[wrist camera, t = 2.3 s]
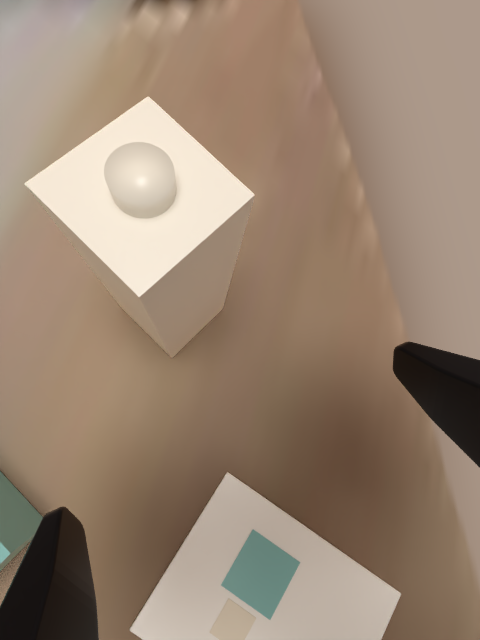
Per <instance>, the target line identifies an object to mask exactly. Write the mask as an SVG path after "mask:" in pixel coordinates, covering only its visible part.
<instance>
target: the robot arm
mask: <svg viewBox="0 0 480 640" xmlns="http://www.w3.org/2000/svg"><path fill="white" fill-rule="evenodd" d="M393 371H394V374H395V375H396V377H397V378H398V379H399V381H400V382H401V383H402V384H403V386H404V387H405V388H406V389H407V390H408V392H409V393H410V394H411V395H412V396H413V398H414V399H415V400H416V401H417V403H418V404H419V405H420V406H421V407H422V409H423V410H424V411H425V412H426V413H427V415H428V416H429V417H430V418H431V419H432V420H433V421H434V422H435V423H436V424H437V425H438V426H439V427H440V428H441V429H442V430H443V431H444V432H445V433H446V434H447V435H448V436H449V437H450V438H451V439H452V440H453V441H454V442H455V443H456V444H457V445H458V446H459V447H460V448H461V449H462V450H463V451H464V452H465V453H466V454H467V455H468V456H469V457H470V458H471V459H472V460H473V461H474V462H475V463H476V464H477V465H478V466H479V467H480V360H477V359H473V358H469V357H466V356H462V355H458V354H454V353H451V352H447V351H443V350H439V349H436V348H432V347H428V346H424V345H421V344H417V343H413V342H405V343H403V344H401V345H399V346H397V347H395V349H394V356H393ZM0 640H99V638H98V620H97V606H96V597H95V590H94V584H93V578H92V572H91V567H90V561H89V555H88V549H87V543H86V537H85V531H84V528H83V525H82V524H81V522H80V521H79V520H78V519H77V518H76V517H75V516H74V515H73V514H72V513H71V512H70V511H69V510H68V509H67V508H66V507H59V508H57V509H55V510H53V511H51V512H49V513H47V514H46V515H45V516H44V517H43V518H42V520H41V522H40V524H39V526H38V529H37V531H36V533H35V535H34V537H33V539H32V541H31V543H30V545H29V547H28V549H27V552H26V554H25V556H24V558H23V560H22V562H21V564H20V566H19V568H18V570H17V572H16V575H15V577H14V579H13V581H12V583H11V585H10V587H9V589H8V591H7V593H6V595H5V598H4V600H3V602H2V604H1V606H0Z"/></svg>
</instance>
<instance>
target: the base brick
mask: <svg viewBox="0 0 480 640" xmlns="http://www.w3.org/2000/svg"><path fill="white" fill-rule="evenodd" d="M42 518H43V517H42V516H41V515H40V514H39V513H38V512H37V510H36V509H35V508H34V507H33V506H32V505H31V504H30V503H29V502H28V501H27V500H26V498H25V497H24V496H23V495H22V494H21V493H20V492H19V491H18V490H17V489H16V488H15V487H14V485H13V484H12V483H11V482H10V481H9V480H8V479H7V478H6V477H5V476H4V475H3V473H2V472H1V471H0V571H1V570H2V569H3V568H4V567H5V566H6V565H7V564H8V563H9V562H10V561H11V560H12V559H13V558H14V557H15V556H16V555H17V554H18V553H19V552H20V551H21V550H22V549H23V548H24V547H25V546H26V545H27V544H28V543H29V542H30V541H31V540H32V539H33V537H34V535H35V533H36V531H37V529H38V526H39V524H40V522H41V520H42Z"/></svg>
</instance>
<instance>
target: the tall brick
mask: <svg viewBox="0 0 480 640" xmlns="http://www.w3.org/2000/svg"><path fill="white" fill-rule="evenodd" d="M24 184H25V185H26V187H27V188H28V189H29V190H30V192H31V193H32V194H33V195H34V197H35V198H36V199H37V201H38V202H39V203H40V204H41V206H42V207H43V208H44V210H45V211H46V212H47V213H48V215H49V216H50V217H51V219H52V220H53V221H54V222H55V224H56V225H57V226H58V227H59V229H60V230H61V231H62V233H63V234H64V235H65V236H66V238H67V239H68V240H69V242H70V243H71V244H72V245H73V247H74V248H75V249H76V251H77V252H78V253H79V254H80V256H81V257H82V258H83V259H84V261H85V262H86V263H87V265H88V266H89V267H90V268H91V270H92V271H93V272H94V274H95V275H96V276H97V277H98V279H99V280H100V281H101V283H102V284H103V285H104V286H105V288H106V289H107V290H108V291H109V293H110V294H111V295H112V297H113V298H114V299H115V300H116V302H117V303H118V304H119V306H120V307H121V308H122V309H123V310H124V311H125V312H126V313H127V314H128V315H129V316H130V317H131V318H132V319H133V320H134V321H135V322H136V323H137V324H138V325H139V326H140V327H141V328H142V329H143V330H144V331H145V332H146V333H147V334H148V335H149V336H150V337H151V338H152V339H153V340H154V341H155V342H156V343H157V344H158V345H159V346H160V347H161V348H162V349H163V350H164V351H165V352H166V353H167V354H168V355H169V356H170V357H171V358H173V357H174V356H175V355H176V354H177V353H178V352H179V351H180V350H181V349H182V348H183V347H184V346H185V345H186V344H187V343H188V342H189V341H190V340H191V339H192V338H193V337H194V336H196V335H197V334H198V333H199V332H200V331H201V330H202V329H203V328H204V327H205V326H206V325H207V324H208V323H209V322H210V321H211V320H212V319H213V318H214V317H215V316H216V315H217V314H218V313H219V312H220V311H221V310H222V309H223V307H224V303H225V300H226V296H227V293H228V289H229V285H230V282H231V278H232V275H233V271H234V268H235V264H236V261H237V257H238V253H239V250H240V246H241V243H242V239H243V236H244V232H245V229H246V225H247V222H248V218H249V214H250V211H251V207H252V204H253V200H254V197H255V195H254V194H253V193H252V192H251V191H250V190H249V189H248V188H247V187H246V186H245V185H244V184H243V183H241V182H240V181H239V180H238V179H237V178H236V177H235V176H234V175H233V174H232V173H231V172H230V171H229V170H227V169H226V168H225V167H224V166H223V165H222V164H221V163H220V162H219V161H218V160H217V159H216V158H214V157H213V156H212V155H211V154H210V153H209V152H208V151H207V150H206V149H205V148H204V147H203V146H201V145H200V144H199V143H198V142H197V141H196V140H195V139H194V138H193V137H192V136H191V135H190V134H189V133H187V132H186V131H185V130H184V129H183V128H182V127H181V126H180V125H179V124H178V123H177V122H176V121H174V120H173V119H172V118H171V117H170V116H169V115H168V114H167V113H166V112H165V111H164V110H163V109H161V108H160V107H159V106H158V105H157V104H156V103H155V102H154V101H153V100H152V99H151V98H150V97H146V98H145V99H144V100H142V101H141V102H139V103H138V104H136V105H135V106H134V107H132V108H131V109H129V110H128V111H127V112H125V113H124V114H122V115H121V116H119V117H118V118H117V119H115V120H114V121H112V122H111V123H109V124H108V125H107V126H105V127H104V128H102V129H101V130H100V131H98V132H97V133H95V134H94V135H92V136H91V137H90V138H88V139H87V140H85V141H84V142H83V143H81V144H80V145H78V146H77V147H75V148H74V149H73V150H71V151H70V152H68V153H67V154H66V155H64V156H63V157H61V158H60V159H58V160H57V161H56V162H54V163H53V164H51V165H50V166H49V167H47V168H46V169H44V170H43V171H41V172H40V173H39V174H37V175H36V176H34V177H33V178H32V179H30V180H29V181H27V182H26V183H24Z"/></svg>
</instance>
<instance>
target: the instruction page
mask: <svg viewBox="0 0 480 640" xmlns="http://www.w3.org/2000/svg"><path fill="white" fill-rule="evenodd" d="M400 596H401V593H400V592H399V591H397V590H396V589H394V588H393V587H392V586H390V585H389V584H387V583H386V582H384V581H383V580H382V579H380V578H379V577H377V576H376V575H374V574H373V573H372V572H370V571H369V570H367V569H366V568H364V567H363V566H362V565H360V564H359V563H357V562H356V561H354V560H353V559H352V558H350V557H349V556H347V555H346V554H344V553H343V552H342V551H340V550H339V549H337V548H336V547H334V546H333V545H332V544H330V543H329V542H327V541H326V540H324V539H323V538H321V537H320V536H319V535H317V534H316V533H314V532H313V531H311V530H310V529H309V528H307V527H306V526H304V525H303V524H301V523H300V522H299V521H297V520H296V519H294V518H293V517H291V516H290V515H289V514H287V513H286V512H284V511H283V510H281V509H280V508H279V507H277V506H276V505H274V504H273V503H271V502H270V501H269V500H267V499H266V498H264V497H263V496H261V495H260V494H259V493H257V492H256V491H254V490H253V489H251V488H250V487H249V486H247V485H246V484H244V483H243V482H241V481H240V480H239V479H237V478H236V477H234V476H233V475H231V474H230V473H229V472H227V473H226V474H225V476H224V477H223V479H222V481H221V482H220V484H219V486H218V487H217V489H216V490H215V492H214V494H213V495H212V497H211V498H210V500H209V502H208V503H207V505H206V506H205V508H204V510H203V511H202V513H201V515H200V516H199V518H198V519H197V521H196V523H195V524H194V526H193V527H192V529H191V531H190V532H189V534H188V535H187V537H186V539H185V540H184V542H183V544H182V545H181V547H180V548H179V550H178V552H177V553H176V555H175V556H174V558H173V560H172V561H171V563H170V564H169V566H168V568H167V569H166V571H165V573H164V574H163V576H162V577H161V579H160V581H159V582H158V584H157V585H156V587H155V589H154V590H153V592H152V593H151V595H150V597H149V598H148V600H147V602H146V603H145V605H144V606H143V608H142V610H141V611H140V613H139V614H138V616H137V618H136V619H135V621H134V622H133V624H132V626H131V627H130V631H131V632H133V633H134V634H135V635H137V636H138V637H140V638H141V639H142V640H381V639H382V637H383V634H384V632H385V630H386V628H387V625H388V623H389V621H390V618H391V616H392V614H393V612H394V609H395V607H396V605H397V603H398V600H399V598H400Z"/></svg>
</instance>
